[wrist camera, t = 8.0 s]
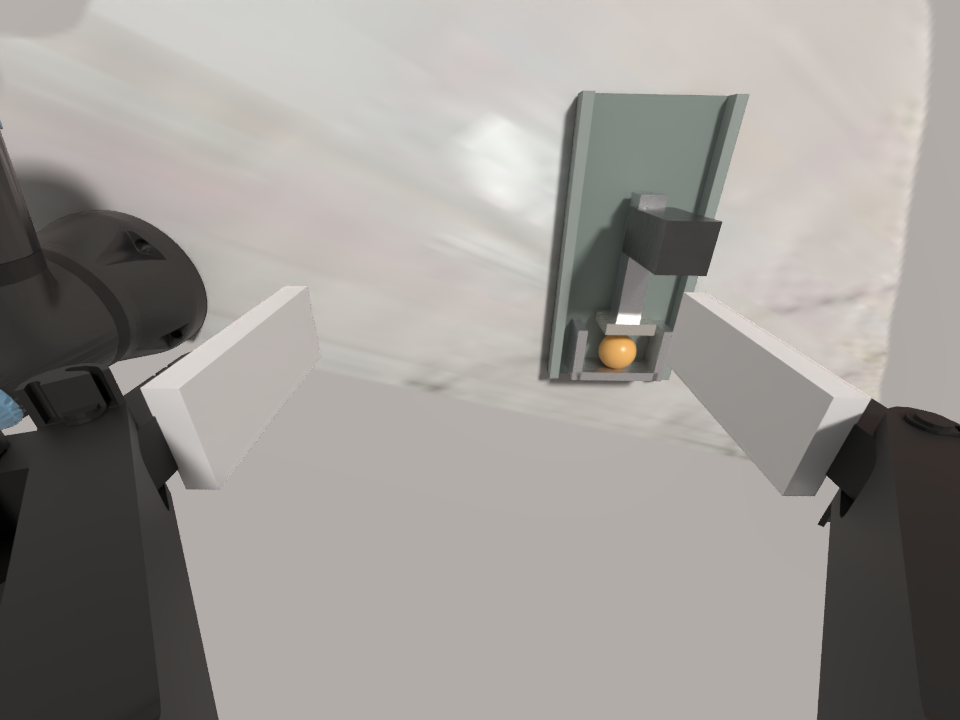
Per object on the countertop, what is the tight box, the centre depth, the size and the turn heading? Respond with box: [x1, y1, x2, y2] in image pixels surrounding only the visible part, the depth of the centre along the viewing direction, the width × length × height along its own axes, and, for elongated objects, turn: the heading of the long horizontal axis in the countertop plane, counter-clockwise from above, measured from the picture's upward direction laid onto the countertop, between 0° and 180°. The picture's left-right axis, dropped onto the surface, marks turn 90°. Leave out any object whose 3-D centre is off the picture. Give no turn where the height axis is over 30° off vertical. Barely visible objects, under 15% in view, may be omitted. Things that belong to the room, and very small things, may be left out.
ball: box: [598, 335, 636, 369], centre depth 44 cm, size 4×4×4 cm
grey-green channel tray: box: [547, 91, 749, 380], centre depth 41 cm, size 14×28×2 cm, turn 179°
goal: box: [566, 318, 673, 381], centre depth 44 cm, size 10×6×4 cm, turn 89°
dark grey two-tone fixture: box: [595, 192, 722, 336], centre depth 36 cm, size 5×13×11 cm, turn 179°
